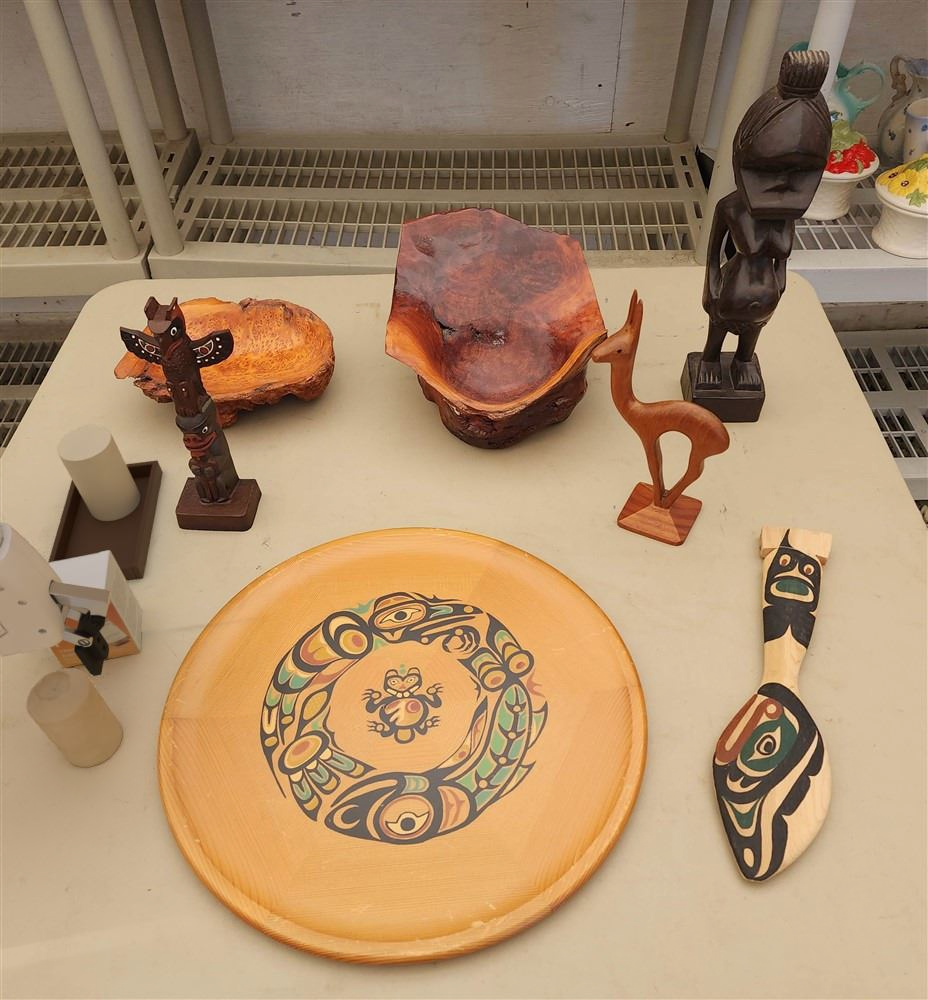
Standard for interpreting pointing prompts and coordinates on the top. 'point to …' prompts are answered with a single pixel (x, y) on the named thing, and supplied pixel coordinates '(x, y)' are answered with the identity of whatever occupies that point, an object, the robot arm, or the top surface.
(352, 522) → the top surface
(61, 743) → the candle
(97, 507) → the pillar
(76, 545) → the tray
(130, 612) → the small box
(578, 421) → the top surface
